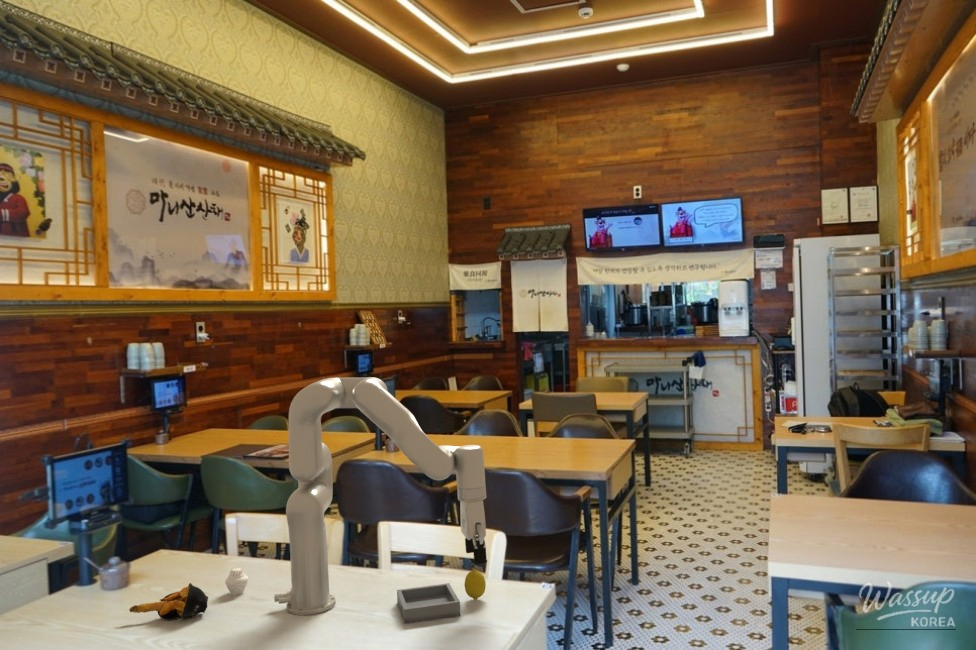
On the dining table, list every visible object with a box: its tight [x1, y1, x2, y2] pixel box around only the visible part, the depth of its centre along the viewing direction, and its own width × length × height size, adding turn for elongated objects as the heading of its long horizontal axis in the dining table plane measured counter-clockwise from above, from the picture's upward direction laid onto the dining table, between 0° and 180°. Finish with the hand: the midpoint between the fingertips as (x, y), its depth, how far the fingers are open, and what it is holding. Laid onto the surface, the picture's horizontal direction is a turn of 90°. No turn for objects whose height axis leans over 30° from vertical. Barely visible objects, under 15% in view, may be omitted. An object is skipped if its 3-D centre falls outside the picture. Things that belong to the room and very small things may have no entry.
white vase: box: [224, 567, 249, 595], centre depth 206 cm, size 6×6×7 cm
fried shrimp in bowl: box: [129, 582, 209, 621], centre depth 189 cm, size 9×11×18 cm
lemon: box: [464, 569, 486, 601], centre depth 194 cm, size 6×6×8 cm
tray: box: [396, 582, 462, 625], centre depth 188 cm, size 14×14×4 cm
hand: (476, 557), depth 194 cm, fingers open, 9 cm apart
